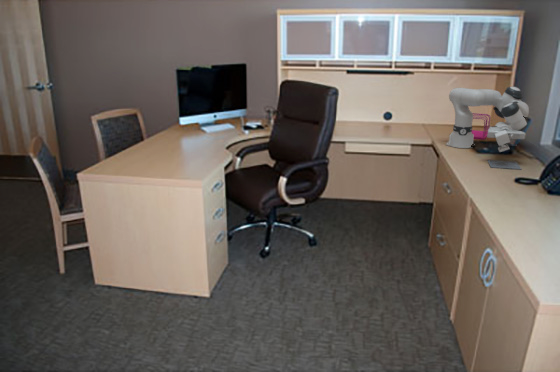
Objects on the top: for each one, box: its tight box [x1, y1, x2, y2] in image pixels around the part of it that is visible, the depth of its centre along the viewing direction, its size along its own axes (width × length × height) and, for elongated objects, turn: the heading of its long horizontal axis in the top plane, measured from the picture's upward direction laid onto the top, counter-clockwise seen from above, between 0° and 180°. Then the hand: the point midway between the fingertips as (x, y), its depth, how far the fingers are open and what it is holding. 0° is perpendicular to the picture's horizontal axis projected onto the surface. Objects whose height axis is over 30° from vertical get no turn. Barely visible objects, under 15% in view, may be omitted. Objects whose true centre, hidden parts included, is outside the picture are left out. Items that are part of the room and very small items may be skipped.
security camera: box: [495, 130, 511, 153], centre depth 260 cm, size 6×7×10 cm
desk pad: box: [487, 159, 522, 171], centre depth 264 cm, size 16×16×1 cm
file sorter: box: [472, 112, 492, 141], centre depth 339 cm, size 17×25×16 cm
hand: (507, 137), depth 258 cm, fingers closed on security camera
